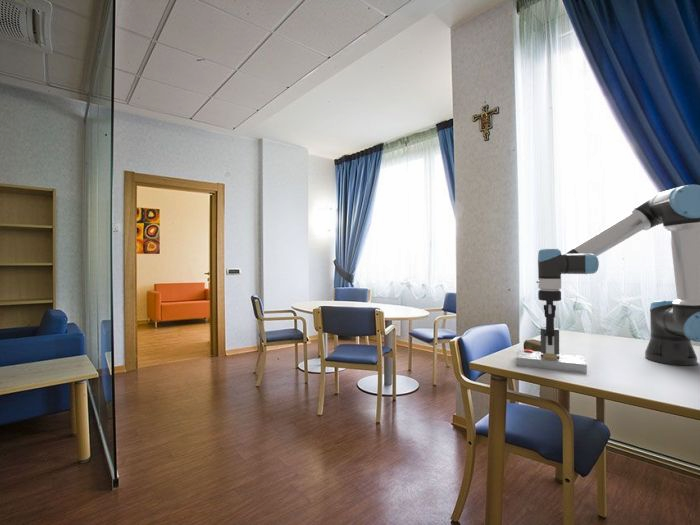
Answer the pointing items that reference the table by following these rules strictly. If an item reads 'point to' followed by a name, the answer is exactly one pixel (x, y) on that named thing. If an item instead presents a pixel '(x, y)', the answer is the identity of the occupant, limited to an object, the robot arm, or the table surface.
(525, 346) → the stone block
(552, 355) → the plug
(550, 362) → the socket plate
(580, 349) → the table surface
